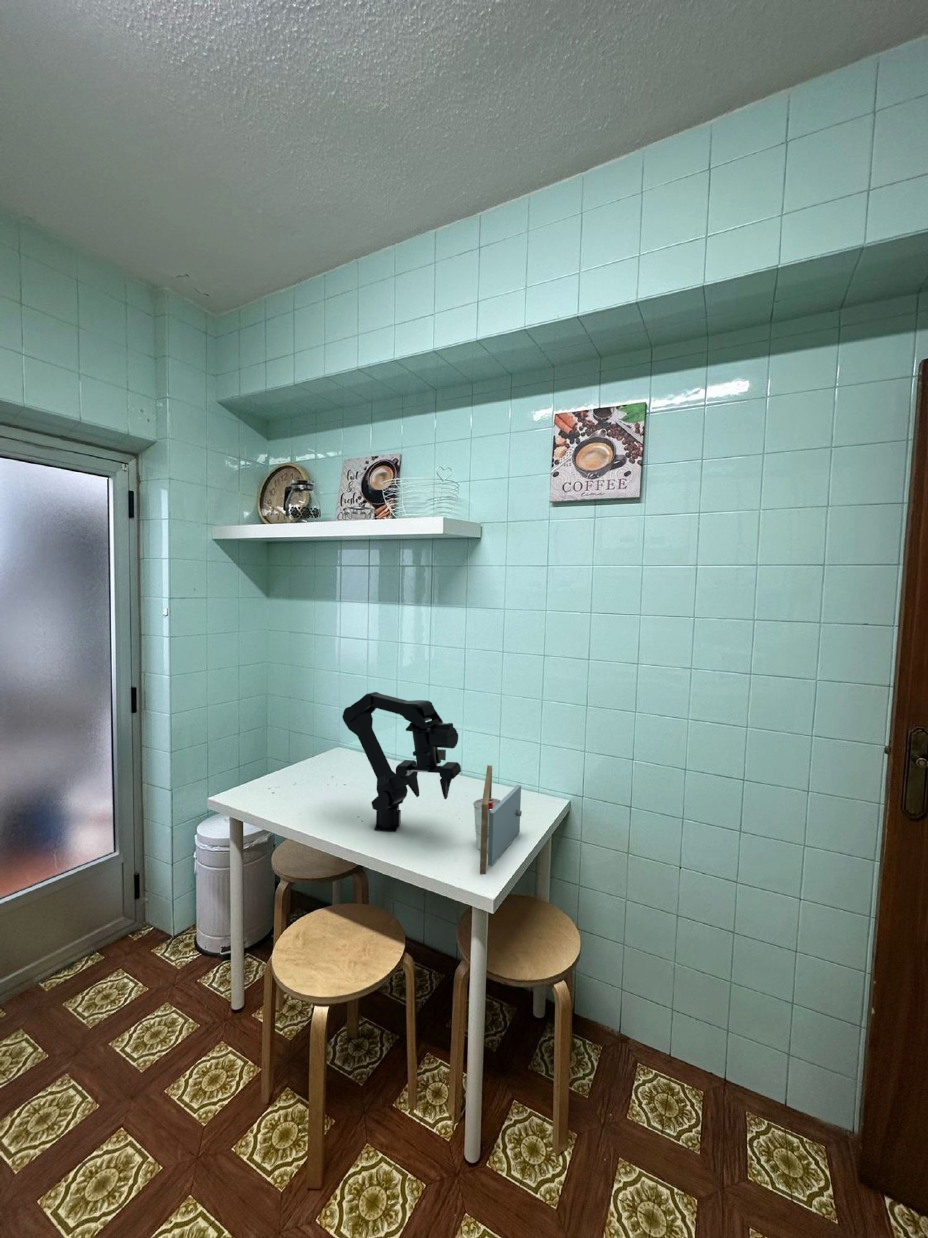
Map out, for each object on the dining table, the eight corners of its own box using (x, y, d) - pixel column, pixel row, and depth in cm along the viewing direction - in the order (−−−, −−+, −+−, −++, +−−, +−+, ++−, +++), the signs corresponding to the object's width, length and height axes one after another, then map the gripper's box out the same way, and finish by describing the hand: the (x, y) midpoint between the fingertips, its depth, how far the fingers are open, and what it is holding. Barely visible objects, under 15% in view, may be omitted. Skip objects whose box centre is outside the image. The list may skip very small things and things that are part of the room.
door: (487, 864, 132) (489, 812, 131) (515, 831, 151) (517, 785, 151) (496, 867, 131) (497, 814, 130) (523, 832, 150) (524, 786, 150)
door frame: (479, 874, 128) (481, 804, 127) (485, 822, 157) (487, 765, 156) (485, 874, 128) (487, 804, 127) (490, 822, 157) (492, 765, 156)
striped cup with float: (480, 836, 148) (479, 795, 148) (508, 840, 145) (507, 798, 145) (468, 852, 139) (467, 808, 139) (498, 856, 136) (497, 812, 136)
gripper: (465, 736, 148) (472, 787, 150) (410, 735, 156) (417, 783, 158) (448, 750, 138) (456, 805, 140) (391, 748, 146) (398, 800, 148)
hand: (431, 797), depth 147 cm, fingers open, 9 cm apart
